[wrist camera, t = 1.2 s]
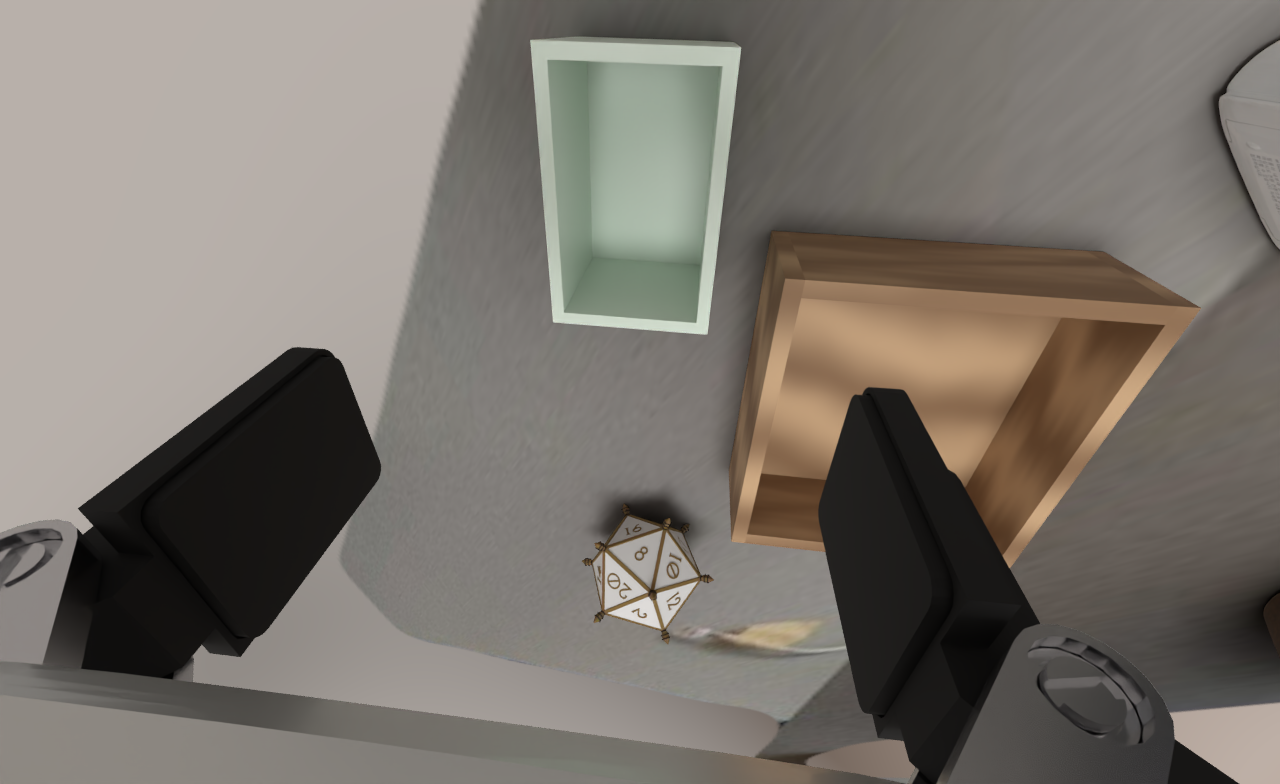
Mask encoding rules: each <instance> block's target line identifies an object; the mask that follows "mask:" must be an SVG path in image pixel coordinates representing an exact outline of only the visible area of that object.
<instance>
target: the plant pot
mask: <svg viewBox="0 0 1280 784" xmlns="http://www.w3.org/2000/svg"><path fill="white" fill-rule="evenodd" d="M1263 616H1264V619H1265V622H1266V625H1267V628H1268V630H1269V633H1270V635H1271V638H1272V641H1273V643H1274V645H1275V648H1276V650H1277V653H1278V655H1279V658H1280V593H1278V594H1277V595H1276V596H1274V597H1273V598H1272V599H1271V600H1270V601H1269V602H1268V603H1267V604H1266V606H1265V608H1264V612H1263Z"/></svg>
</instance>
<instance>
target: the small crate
mask: <svg viewBox="0 0 1280 784" xmlns="http://www.w3.org/2000/svg"><path fill="white" fill-rule="evenodd" d="M530 42H531V54H532V67H533V79H534V92H535V104H536V116H537V129H538V141H539V153H540V166H541V178H542V190H543V203H544V215H545V227H546V240H547V252H548V264H549V277H550V289H551V302H552V314H553V322H556V323H568V324H581V325H593V326H606V327H618V328H631V329H643V330H655V331H668V332H680V333H693V334H705V335H707V333H708V324H709V316H710V307H711V299H712V290H713V282H714V274H715V265H716V257H717V248H718V240H719V231H720V223H721V214H722V206H723V198H724V189H725V181H726V172H727V164H728V155H729V147H730V138H731V130H732V121H733V113H734V105H735V96H736V88H737V79H738V71H739V62H740V54H741V47H740V46H738V45H737V44H736V43H735V42H722V41H694V40H666V39H638V38H610V37H582V36H576V37H563V38H550V39H537V40H530Z"/></svg>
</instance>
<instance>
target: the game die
mask: <svg viewBox="0 0 1280 784" xmlns="http://www.w3.org/2000/svg"><path fill="white" fill-rule="evenodd" d="M622 510H623V513H624V514H625V517H624V518H623V520H622V521H621V522H620V524H619V525H618V526H617V528H616V529H615V530H614V532H613V533H612V535H611V536H610V537H609V539H608V540H607V541H606V543H605V544H604V543H601V541H600V542H598V543H594V544H595V546H596V549H598V550H600V551H599V552H598V554H597V555H596V556H595V558H594V559H593V560H591V559H588V558H586V559H584V560H582V562H583V563H584V564H585V566H587V565H588V566H590V565H592V566H593V571H594V576H595V581H596V585H597V590H598V595H599V600H600V605H601V609H602V610H601V612H598V614H596V615H595V619H594V623H595V622H600V621H601V619H603V617H604V615H608V616H611V617H615V618H618V619H622V620H625V621H629V622H632V623H636V624H639V625H642V626H646V627H649V628H653V629H656V630H660V631H661V632H662V635H661V636H662V638H663V639H662V640H664V641H665V642H666V643H667V644H668V643H669V638H670V637H669V635H668V634H669V633H668V632H667V631H666V629H667V627H668V626H669V624H670V623H671V622H672V620H673V619H674V617H675V616H676V615H677V613H678V612H679V610H680V609H681V608H682V606H683V605H684V603H685V602H686V601H687V599H688V598H689V596H690V595H691V593H692V592H693V591H694V589H695V588H696V586H697V585H698V584H699V582H700V581H704V582H707V583H709V582H711V581H713V580H714V579H712V578H711V577H710V576H709V575H706V574H705V575H703V576H702V575H701V574H700V572H699V570H698V567H697V565H696V563H695V560H694V558H693V555H692V553H691V551H690V548H689V546H688V544H687V541H686V539H685V537H684V534H683V533H685V532H687V531H689V529H688V528H689V524H687V525H685V524H684V525H683V526H682V527H681V530H678V529H675V528H672V527H669V526H670V525H671V523H672V522H671V520H670V518H668V519H665V520H664V522H663V525H662V524H659V523H656V522H653V521H649V520H646V519H643V518H640V517H637V516H633V515H630V514H629V511H630V510H629V507H628V506H626V505H625V504H623V508H622Z"/></svg>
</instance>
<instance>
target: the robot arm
mask: <svg viewBox="0 0 1280 784" xmlns="http://www.w3.org/2000/svg"><path fill="white" fill-rule="evenodd" d="M380 472H381V464H380V460H379V458H378V455H377V452H376V450H375V447H374V445H373V442H372V440H371V437H370V434H369V432H368V429H367V427H366V424H365V421H364V419H363V416H362V414H361V411H360V408H359V406H358V403H357V401H356V398H355V395H354V393H353V390H352V388H351V385H350V382H349V380H348V378H347V375H346V372H345V369H344V367H343V365H342V363H341V361H340V360H339V359H337V358H335V357H334V355H333V354H332V353H331V352H330V351H328V350H325V349H314V348H301V347H297V348H291V349H289V350H287V351H286V352H284V353H283V354H282V355H281V356H279V357H278V358H277V359H276V360H274V361H273V362H271V363H270V364H269V365H267V366H266V367H265V368H263V369H262V370H261V371H259V372H258V373H257V374H255V375H254V376H253V377H251V378H250V379H249V380H248V381H246V382H245V383H243V384H242V385H241V386H239V387H238V388H237V389H235V390H234V391H233V392H232V393H230V394H229V395H228V396H226V397H225V398H224V399H223V400H221V401H220V402H218V403H217V404H216V405H215V406H213V407H212V408H210V409H209V410H208V411H206V412H205V413H204V414H202V415H201V416H200V417H198V418H197V419H196V420H194V421H193V422H192V423H191V424H189V425H188V426H186V427H185V428H184V429H183V430H181V431H180V432H179V433H177V434H176V435H175V436H173V437H172V438H171V439H169V440H168V441H167V442H165V443H164V444H163V445H161V446H160V447H159V448H157V449H156V450H155V451H153V452H152V453H151V454H149V455H148V456H147V457H145V458H144V459H143V460H142V461H140V462H139V463H138V464H136V465H135V466H133V467H132V468H131V469H130V470H128V471H127V472H126V473H125V474H123V475H122V476H120V477H119V478H118V479H116V480H115V481H114V482H112V483H111V484H110V485H108V486H107V487H106V488H104V489H103V490H102V491H100V492H99V493H98V494H96V495H95V496H94V497H93V498H91V499H90V500H88V501H87V502H86V503H85V504H83V505H82V506H81V507H79V508H78V509H79V510H80V511H81V513H82V514H83V515H84V516H85V517H86V518H87V519H88V520H89V521H90V522H91V523H92V524H93V527H92V528H91V529H89V530H88V531H87V532H86V533H84V534H82V533H81V532H80V531H79V530H78V529H77V528H76V527H75V526H74V525H73V524H72V523H70V522H67V521H61V520H45V521H38V522H33V523H29V524H25V525H21V526H18V527H15V528H12V529H10V530H7V531H4V532H2V533H0V784H904V783H899V782H895V781H890V780H885V779H880V778H875V777H870V776H866V775H861V774H856V773H849V772H843V771H836V770H830V769H824V768H816V767H811V766H804V765H798V764H792V763H785V762H779V761H772V760H766V759H759V758H753V757H747V756H740V755H733V754H727V753H720V752H714V751H706V750H699V749H691V748H684V747H677V746H669V745H663V744H655V743H648V742H641V741H634V740H626V739H619V738H612V737H604V736H597V735H589V734H583V733H575V732H568V731H560V730H553V729H546V728H539V727H532V726H524V725H517V724H509V723H502V722H494V721H486V720H479V719H472V718H464V717H457V716H449V715H442V714H434V713H426V712H419V711H412V710H404V709H396V708H389V707H381V706H373V705H366V704H358V703H351V702H343V701H335V700H327V699H320V698H313V697H305V696H297V695H290V694H281V693H273V692H266V691H258V690H250V689H242V688H234V687H226V686H219V685H211V684H202V683H195V682H193V663H194V658H193V654H194V653H195V652H196V651H197V649H198V648H199V647H200V646H201V645H203V646H204V647H205V648H206V649H207V650H208V652H209V653H213V654H221V655H229V656H236V657H241V656H242V654H243V653H244V652H245V650H246V649H247V647H248V646H249V645H250V643H251V642H252V641H253V639H254V638H256V637H258V636H260V635H262V634H263V633H264V632H265V631H266V630H267V629H268V628H269V627H270V625H271V624H272V623H273V621H274V620H275V619H276V617H277V616H278V614H279V613H280V612H281V611H282V609H283V608H284V606H285V605H286V604H287V602H288V601H289V600H290V598H291V597H292V596H293V594H294V593H295V592H296V590H297V589H298V587H299V586H300V585H301V584H302V582H303V581H304V579H305V578H306V577H307V575H308V574H309V573H310V571H311V570H312V569H313V567H314V566H315V565H316V563H317V562H318V561H319V559H320V558H321V557H322V555H323V554H324V552H325V551H326V550H327V548H328V547H329V546H330V544H331V543H332V542H333V540H334V539H335V538H336V536H337V535H338V534H339V532H340V530H342V528H343V527H344V525H345V524H346V523H347V521H348V520H349V519H350V517H351V516H352V515H353V513H354V512H355V511H356V509H357V508H358V507H359V505H360V504H361V502H362V501H363V500H364V498H365V497H366V496H367V494H368V493H369V492H370V490H371V489H372V488H373V486H374V485H375V484H376V482H377V480H378V479H379V476H380ZM818 518H819V525H820V529H821V534H822V538H823V543H824V547H825V552H826V556H827V561H828V565H829V570H830V575H831V579H832V584H833V588H834V593H835V597H836V602H837V606H838V611H839V615H840V620H841V624H842V629H843V634H844V638H845V643H846V647H847V652H848V656H849V661H850V665H851V670H852V674H853V679H854V684H855V688H856V693H857V697H858V701H859V705H860V707H861V709H862V711H863V712H864V713H867V714H872V715H873V719H874V723H875V727H876V732H877V736H878V738H885V739H893V740H901V741H904V743H905V747H906V750H907V754H908V758H909V761H910V762H911V763H912V764H913V765H914V766H915V767H916V768H915V770H914V772H913V773H912V775H911V777H910V779H909V781H908V783H907V784H1239V783H1237V782H1236V781H1234V780H1233V779H1231V778H1230V777H1229V776H1227V775H1226V774H1224V773H1223V772H1221V771H1220V770H1218V769H1217V768H1216V767H1214V766H1213V765H1211V764H1210V763H1208V762H1207V761H1205V760H1204V759H1202V758H1201V757H1199V756H1198V755H1196V754H1195V753H1194V752H1192V751H1191V750H1189V749H1188V748H1187V747H1185V746H1184V745H1182V744H1180V743H1179V742H1178V741H1176V740H1175V737H1174V725H1173V720H1172V718H1171V715H1170V713H1169V711H1168V709H1167V706H1166V704H1165V702H1164V700H1163V698H1162V697H1161V696H1160V694H1159V693H1158V692H1157V690H1156V689H1155V688H1154V686H1153V685H1152V684H1151V682H1150V681H1149V680H1148V678H1147V677H1146V676H1145V675H1143V674H1142V673H1141V672H1140V671H1139V670H1138V669H1137V668H1136V667H1135V666H1134V665H1133V664H1132V663H1131V662H1130V661H1129V660H1128V659H1126V658H1125V657H1124V656H1122V655H1121V654H1119V653H1118V652H1116V651H1115V650H1114V649H1112V648H1111V647H1109V646H1108V645H1106V644H1105V643H1103V642H1102V641H1100V640H1097V639H1095V638H1093V637H1091V636H1089V635H1087V634H1085V633H1083V632H1081V631H1078V630H1075V629H1071V628H1068V627H1064V626H1061V625H1053V624H1040V622H1039V621H1038V619H1037V617H1036V615H1035V613H1034V612H1033V610H1032V608H1031V606H1030V604H1029V603H1028V601H1027V599H1026V597H1025V595H1024V594H1023V592H1022V590H1021V588H1020V586H1019V585H1018V583H1017V581H1016V579H1015V577H1014V576H1013V574H1012V572H1011V570H1010V568H1009V567H1008V565H1007V563H1006V561H1005V559H1004V558H1003V556H1002V554H1001V552H1000V550H999V549H998V547H997V545H996V543H995V541H994V540H993V538H992V536H991V534H990V532H989V531H988V529H987V527H986V525H985V523H984V522H983V520H982V518H981V516H980V514H979V513H978V511H977V509H976V507H975V505H974V504H973V502H972V500H971V498H970V496H969V495H968V493H967V491H966V489H965V487H964V486H963V484H962V482H961V480H960V479H959V478H958V476H957V475H956V474H955V473H954V472H952V471H950V470H948V469H947V467H946V465H945V463H944V461H943V459H942V457H941V456H940V454H939V452H938V450H937V448H936V446H935V445H934V443H933V441H932V439H931V437H930V435H929V433H928V432H927V430H926V428H925V426H924V424H923V422H922V420H921V419H920V417H919V415H918V413H917V411H916V409H915V408H914V406H913V404H912V402H911V400H910V398H909V396H908V395H907V393H906V392H905V391H904V390H902V389H891V388H876V387H868V388H866V389H865V390H864V392H863V394H862V395H856V394H855V395H853V397H852V398H851V401H850V404H849V407H848V410H847V413H846V417H845V420H844V423H843V427H842V430H841V433H840V436H839V440H838V443H837V446H836V449H835V453H834V456H833V459H832V462H831V466H830V469H829V472H828V475H827V479H826V482H825V485H824V489H823V492H822V495H821V498H820V502H819V508H818Z"/></svg>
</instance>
